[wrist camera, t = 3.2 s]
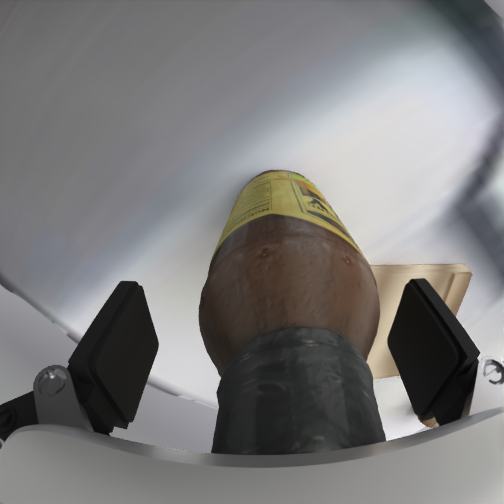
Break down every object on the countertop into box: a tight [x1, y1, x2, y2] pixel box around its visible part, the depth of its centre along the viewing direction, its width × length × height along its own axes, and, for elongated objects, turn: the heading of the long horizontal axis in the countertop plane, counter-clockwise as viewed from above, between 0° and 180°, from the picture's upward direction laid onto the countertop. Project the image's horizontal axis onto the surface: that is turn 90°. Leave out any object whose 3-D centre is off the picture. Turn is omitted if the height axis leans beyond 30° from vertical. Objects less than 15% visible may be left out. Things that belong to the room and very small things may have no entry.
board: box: [366, 264, 472, 379], centre depth 25 cm, size 22×14×2 cm, turn 91°
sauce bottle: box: [199, 170, 386, 455], centre depth 11 cm, size 6×6×20 cm
